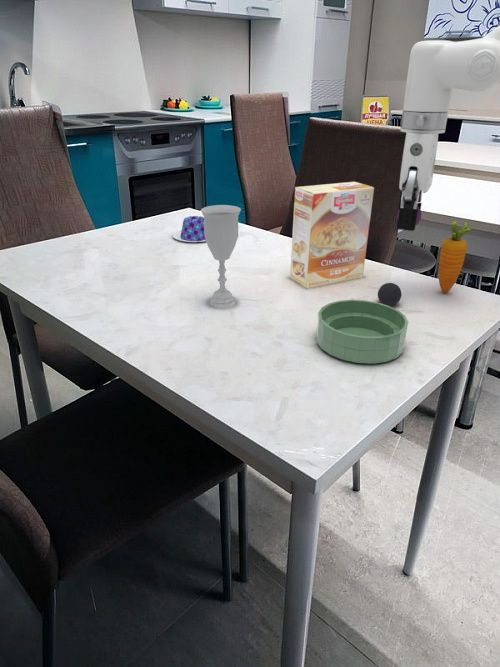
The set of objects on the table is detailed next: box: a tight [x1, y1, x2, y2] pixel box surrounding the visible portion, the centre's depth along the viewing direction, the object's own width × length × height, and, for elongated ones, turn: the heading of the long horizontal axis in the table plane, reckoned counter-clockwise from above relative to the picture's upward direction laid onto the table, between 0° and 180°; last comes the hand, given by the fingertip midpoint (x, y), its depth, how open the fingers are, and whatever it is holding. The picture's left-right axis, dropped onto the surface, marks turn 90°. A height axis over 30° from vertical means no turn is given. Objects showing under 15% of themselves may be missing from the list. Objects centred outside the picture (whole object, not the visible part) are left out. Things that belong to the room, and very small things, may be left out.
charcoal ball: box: [377, 282, 403, 307], centre depth 96 cm, size 4×4×4 cm
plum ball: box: [396, 206, 422, 226], centre depth 95 cm, size 4×4×4 cm
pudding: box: [172, 215, 206, 243], centre depth 134 cm, size 12×12×5 cm
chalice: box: [200, 204, 242, 309], centre depth 93 cm, size 7×7×18 cm
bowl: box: [315, 299, 409, 364], centre depth 82 cm, size 14×14×5 cm
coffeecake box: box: [289, 181, 375, 289], centre depth 105 cm, size 15×7×20 cm, turn 117°
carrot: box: [438, 220, 471, 294], centre depth 99 cm, size 5×5×15 cm
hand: (407, 225), depth 96 cm, fingers closed on plum ball, 4 cm apart
